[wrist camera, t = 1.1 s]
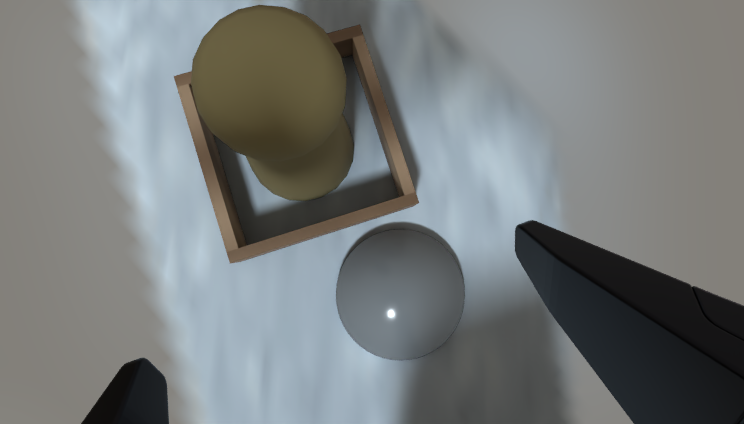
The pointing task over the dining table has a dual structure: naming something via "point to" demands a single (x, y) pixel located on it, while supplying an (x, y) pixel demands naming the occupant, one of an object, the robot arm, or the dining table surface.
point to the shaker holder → (238, 250)
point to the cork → (276, 99)
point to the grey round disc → (400, 294)
